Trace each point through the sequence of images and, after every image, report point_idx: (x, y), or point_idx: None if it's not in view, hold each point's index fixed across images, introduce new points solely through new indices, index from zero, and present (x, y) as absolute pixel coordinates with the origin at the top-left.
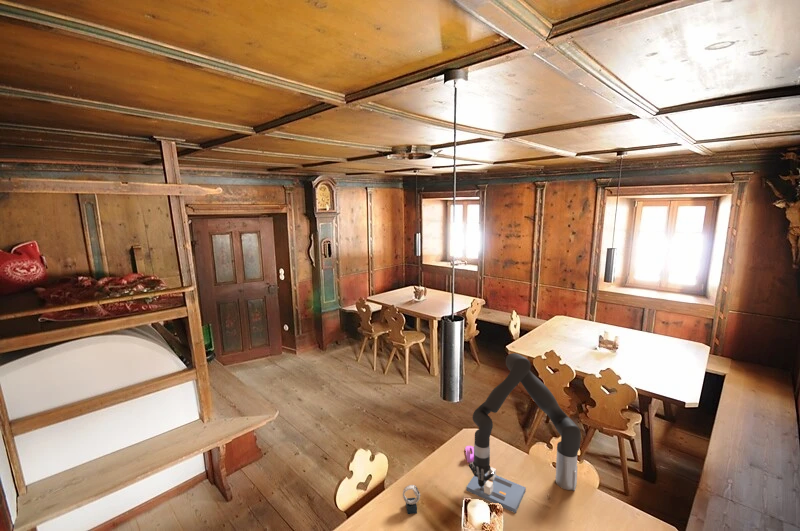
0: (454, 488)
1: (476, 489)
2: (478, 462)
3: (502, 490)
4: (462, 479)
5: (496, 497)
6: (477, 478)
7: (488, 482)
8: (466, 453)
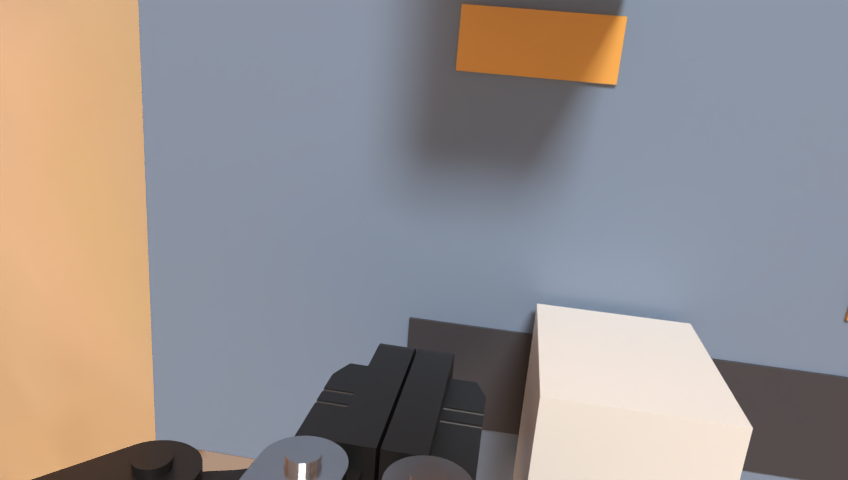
0: (25, 434)
1: None
2: None
3: None
4: (19, 172)
5: (799, 477)
6: (247, 106)
7: (603, 472)
8: None
